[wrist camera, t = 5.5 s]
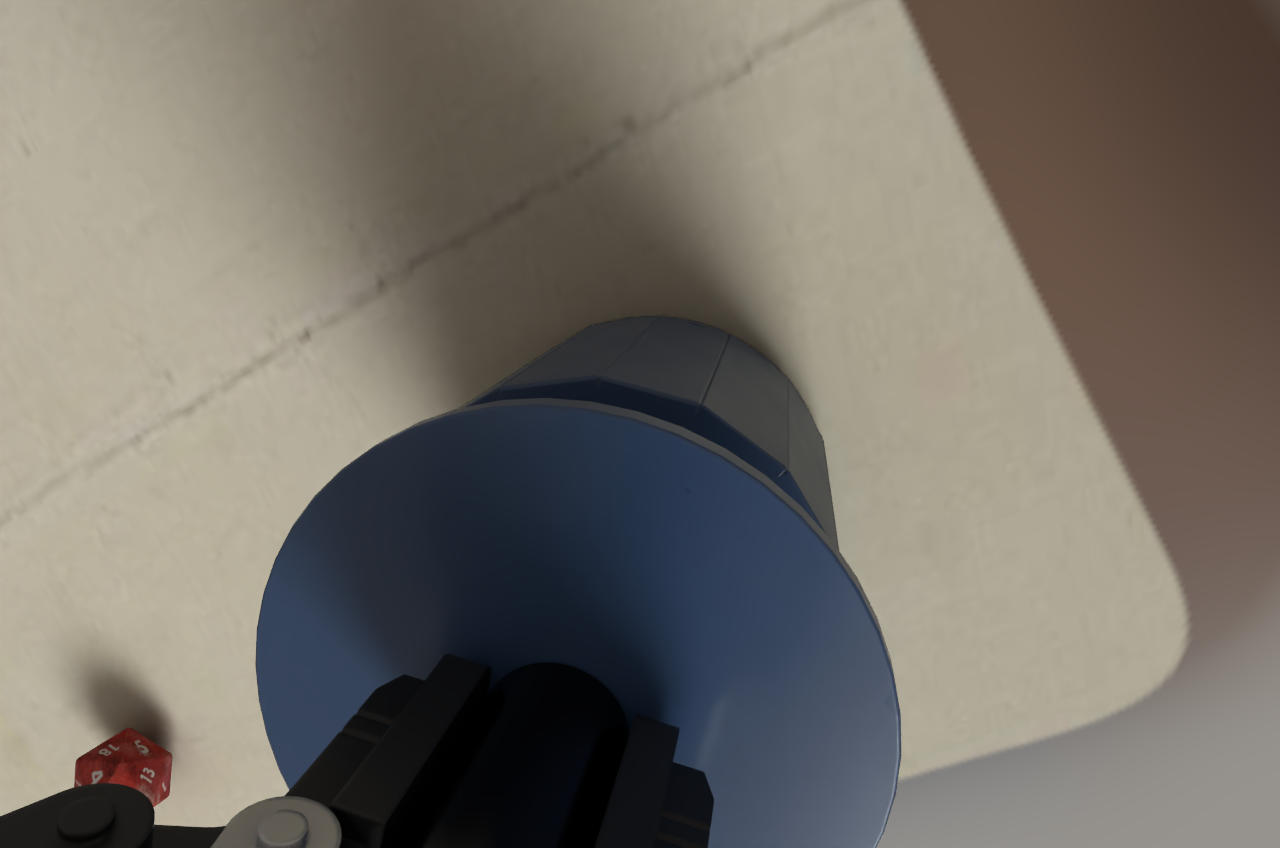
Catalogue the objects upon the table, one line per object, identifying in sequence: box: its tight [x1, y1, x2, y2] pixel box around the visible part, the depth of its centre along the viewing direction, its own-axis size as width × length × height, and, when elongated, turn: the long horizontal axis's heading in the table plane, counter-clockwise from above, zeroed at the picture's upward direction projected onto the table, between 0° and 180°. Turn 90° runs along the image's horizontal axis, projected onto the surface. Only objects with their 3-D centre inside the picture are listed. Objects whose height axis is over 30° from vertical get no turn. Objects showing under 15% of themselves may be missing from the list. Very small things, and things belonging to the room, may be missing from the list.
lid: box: [256, 398, 901, 848], centre depth 12 cm, size 11×11×6 cm
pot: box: [460, 316, 839, 550], centre depth 21 cm, size 10×10×8 cm
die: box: [74, 728, 172, 807], centre depth 29 cm, size 3×3×3 cm
